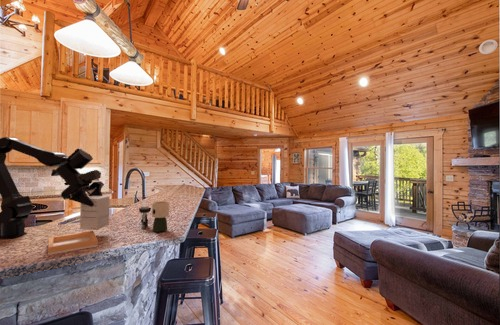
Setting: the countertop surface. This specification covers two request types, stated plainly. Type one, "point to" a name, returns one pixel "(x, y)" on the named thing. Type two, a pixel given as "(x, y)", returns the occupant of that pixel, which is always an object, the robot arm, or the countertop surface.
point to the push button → (144, 215)
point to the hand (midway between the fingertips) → (98, 204)
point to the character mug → (160, 215)
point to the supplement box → (95, 213)
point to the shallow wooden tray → (71, 242)
